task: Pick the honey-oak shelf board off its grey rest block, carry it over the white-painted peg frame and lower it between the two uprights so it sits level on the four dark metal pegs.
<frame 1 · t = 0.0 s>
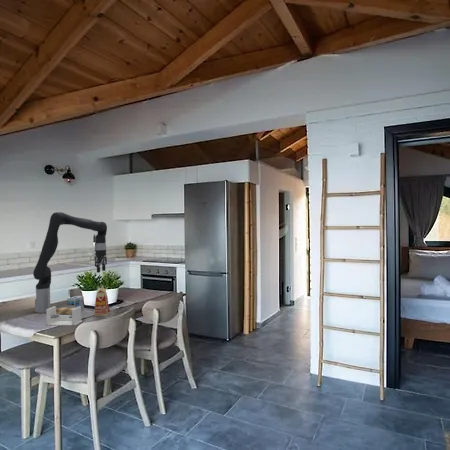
hand: (101, 271, 256), 29 cm above the table, fingers open, 8 cm apart
light bulb box: (75, 312, 258), on the table
milk carton: (102, 314, 250), on the table
peg frame: (64, 323, 228), on the table
rest block: (68, 319, 238), on the table
shelf board: (68, 313, 238), point 4 cm above the table, touching rest block
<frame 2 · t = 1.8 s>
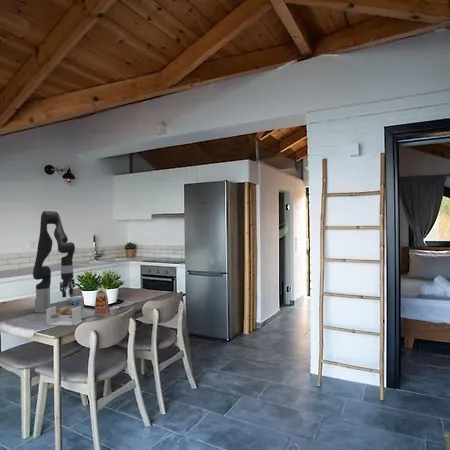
hand: (67, 295, 238), 16 cm above the table, fingers open, 8 cm apart
nothing on the table moved.
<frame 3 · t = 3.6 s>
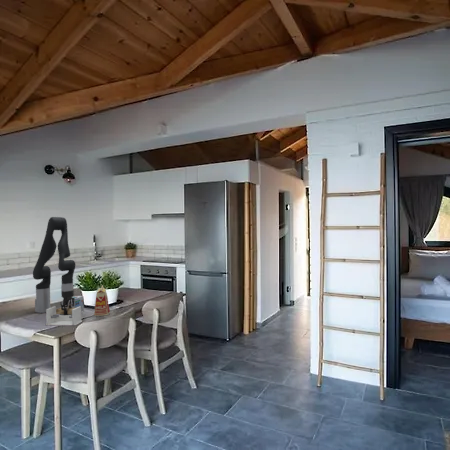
hand: (68, 314, 238), 3 cm above the table, fingers closed on shelf board, 5 cm apart
shelf board: (68, 313, 238), point 4 cm above the table, touching gripper, rest block
everything else where it was.
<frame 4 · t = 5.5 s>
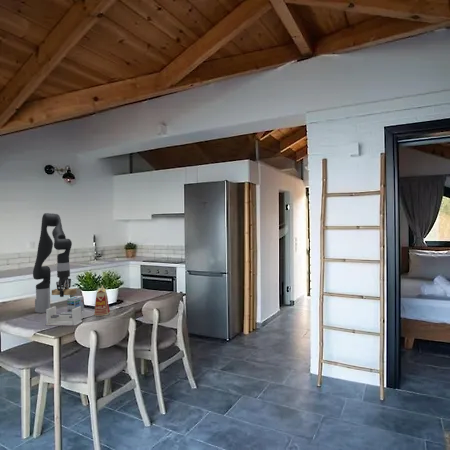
hand: (64, 295, 228), 18 cm above the table, fingers closed on shelf board, 5 cm apart
shelf board: (64, 294, 228), point 19 cm above the table, touching gripper
everything else where it was.
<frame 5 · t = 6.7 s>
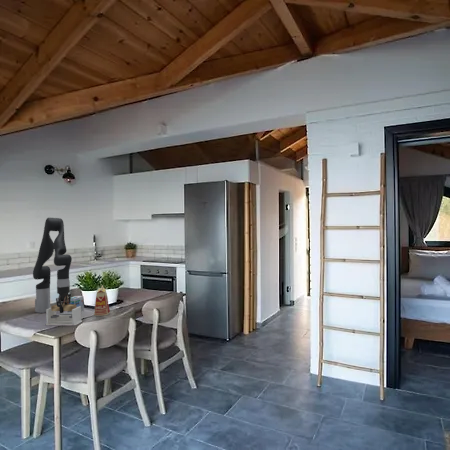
hand: (64, 311, 228), 8 cm above the table, fingers closed on shelf board, 5 cm apart
shelf board: (64, 310, 228), point 9 cm above the table, touching gripper
everything else where it was.
when the fingers open (5 cm above the table, at t = 7.5 s): shelf board drops 1 cm, resting on peg frame.
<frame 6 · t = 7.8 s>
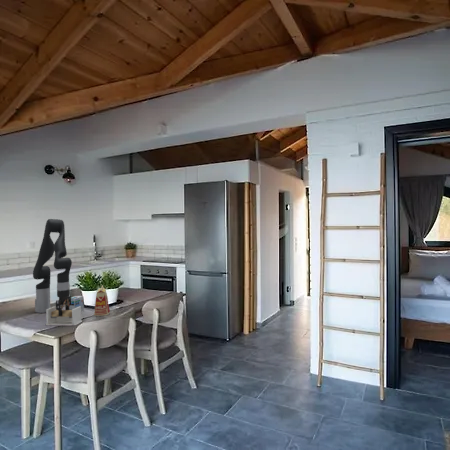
hand: (63, 314, 228), 6 cm above the table, fingers open, 7 cm apart
shelf board: (64, 315, 228), point 5 cm above the table, touching peg frame
everything else where it was.
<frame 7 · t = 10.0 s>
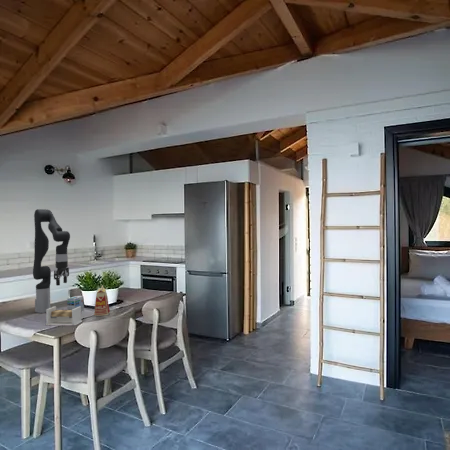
hand: (61, 284, 241), 23 cm above the table, fingers open, 8 cm apart
nothing on the table moved.
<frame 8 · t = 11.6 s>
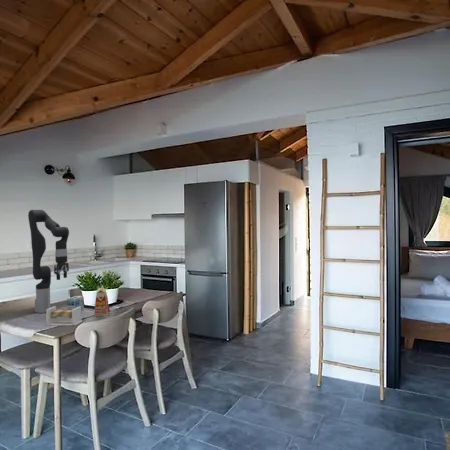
hand: (61, 278, 246), 26 cm above the table, fingers open, 8 cm apart
nothing on the table moved.
at the end: shelf board 0.1 cm off-centre on the peg frame, point 5.0 cm above the peg frame's base; shelf board tilted 0°; the gripper is holding nothing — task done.
